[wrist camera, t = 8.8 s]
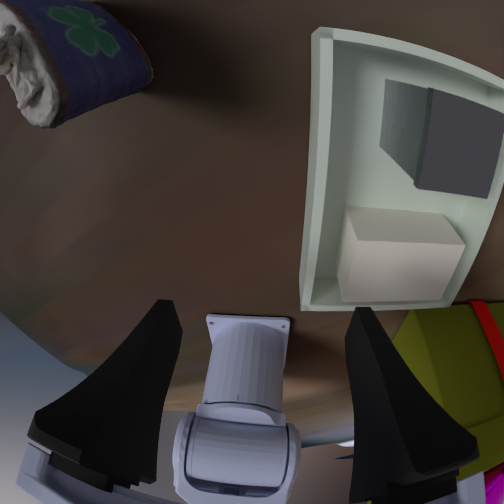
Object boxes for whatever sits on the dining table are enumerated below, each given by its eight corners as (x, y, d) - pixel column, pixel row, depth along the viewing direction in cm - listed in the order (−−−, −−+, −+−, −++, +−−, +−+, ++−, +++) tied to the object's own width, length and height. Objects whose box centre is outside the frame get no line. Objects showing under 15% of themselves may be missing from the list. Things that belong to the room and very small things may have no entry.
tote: (435, 278, 22) (449, 306, 19) (299, 277, 23) (300, 310, 21) (489, 79, 11) (521, 89, 8) (310, 34, 12) (320, 26, 9)
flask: (67, 20, 11) (-55, 37, 3) (95, -9, 10) (-28, -17, 2) (133, 101, 16) (14, 161, 7) (166, 73, 14) (47, 103, 6)
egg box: (423, 265, 21) (440, 299, 18) (334, 263, 21) (342, 301, 18) (441, 213, 18) (465, 245, 15) (344, 205, 18) (357, 240, 15)
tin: (437, 156, 15) (487, 199, 10) (377, 147, 16) (417, 189, 11) (446, 92, 12) (506, 114, 8) (383, 76, 13) (433, 88, 8)
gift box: (355, 393, 37) (361, 546, 17) (377, 303, 25) (409, 575, 5) (468, 368, 33) (495, 500, 14) (524, 275, 21) (594, 458, 1)
